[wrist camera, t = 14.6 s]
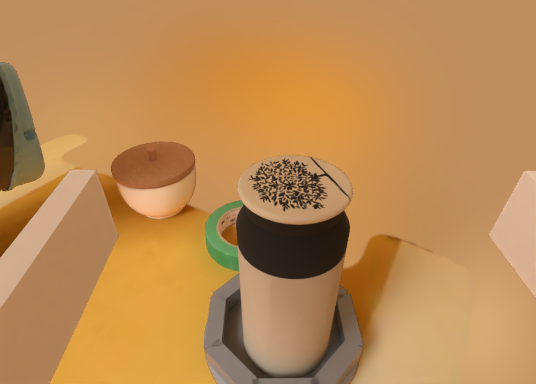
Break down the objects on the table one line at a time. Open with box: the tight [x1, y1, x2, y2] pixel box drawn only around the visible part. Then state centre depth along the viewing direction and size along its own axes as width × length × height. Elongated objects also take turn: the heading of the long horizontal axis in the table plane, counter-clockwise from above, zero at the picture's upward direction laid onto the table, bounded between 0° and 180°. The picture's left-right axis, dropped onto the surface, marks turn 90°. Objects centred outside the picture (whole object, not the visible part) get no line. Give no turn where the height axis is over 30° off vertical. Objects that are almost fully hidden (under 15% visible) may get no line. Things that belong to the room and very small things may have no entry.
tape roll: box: [205, 200, 244, 271], centre depth 44 cm, size 11×11×3 cm
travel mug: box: [236, 155, 353, 378], centre depth 28 cm, size 8×8×18 cm
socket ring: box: [204, 274, 363, 384], centre depth 33 cm, size 15×15×2 cm
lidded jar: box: [111, 142, 196, 219], centre depth 48 cm, size 11×11×9 cm
